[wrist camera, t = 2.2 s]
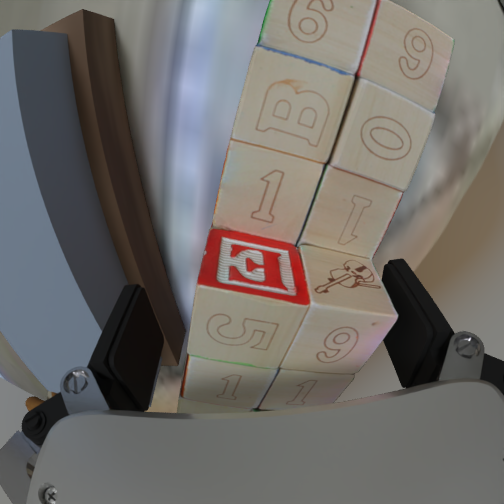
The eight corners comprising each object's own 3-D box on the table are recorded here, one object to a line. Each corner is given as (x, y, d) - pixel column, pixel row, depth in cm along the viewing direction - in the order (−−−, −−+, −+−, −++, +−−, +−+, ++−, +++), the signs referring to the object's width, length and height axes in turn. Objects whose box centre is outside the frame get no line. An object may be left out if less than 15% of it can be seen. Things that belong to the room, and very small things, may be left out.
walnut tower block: (117, 20, 13) (82, 9, 9) (186, 326, 26) (178, 365, 22) (-5, 82, 14) (-44, 91, 10) (80, 326, 27) (63, 358, 23)
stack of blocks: (268, 17, 13) (296, -89, 3) (369, 52, 14) (522, 42, 3) (196, 304, 24) (170, 447, 14) (270, 319, 25) (278, 459, 14)
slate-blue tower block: (67, 33, 10) (11, 29, 6) (162, 358, 22) (150, 406, 18) (-36, 99, 10) (-83, 116, 6) (66, 352, 22) (48, 391, 19)
